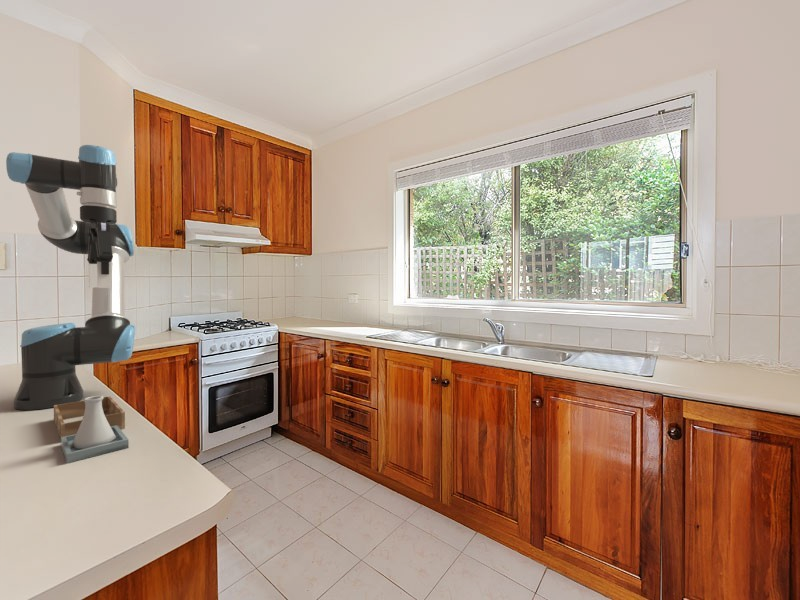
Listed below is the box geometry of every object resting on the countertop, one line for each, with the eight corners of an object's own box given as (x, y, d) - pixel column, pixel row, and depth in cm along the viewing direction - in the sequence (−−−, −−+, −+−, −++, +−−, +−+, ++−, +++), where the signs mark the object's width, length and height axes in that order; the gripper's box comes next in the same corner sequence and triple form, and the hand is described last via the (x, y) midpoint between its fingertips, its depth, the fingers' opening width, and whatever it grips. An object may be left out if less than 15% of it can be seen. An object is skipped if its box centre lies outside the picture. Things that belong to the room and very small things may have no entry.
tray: (60, 445, 81) (60, 437, 81) (117, 432, 88) (117, 425, 88) (66, 463, 73) (66, 454, 73) (128, 447, 80) (128, 439, 80)
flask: (90, 451, 76) (89, 404, 76) (63, 448, 78) (62, 401, 78) (123, 438, 83) (122, 394, 83) (98, 435, 85) (97, 392, 85)
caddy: (54, 420, 96) (53, 405, 96) (110, 410, 104) (109, 396, 104) (61, 442, 83) (61, 424, 83) (125, 428, 91) (124, 412, 91)
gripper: (73, 211, 103) (75, 287, 104) (87, 197, 86) (88, 287, 87) (107, 215, 109) (108, 287, 109) (126, 202, 92) (127, 288, 92)
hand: (99, 287), depth 98 cm, fingers open, 13 cm apart
